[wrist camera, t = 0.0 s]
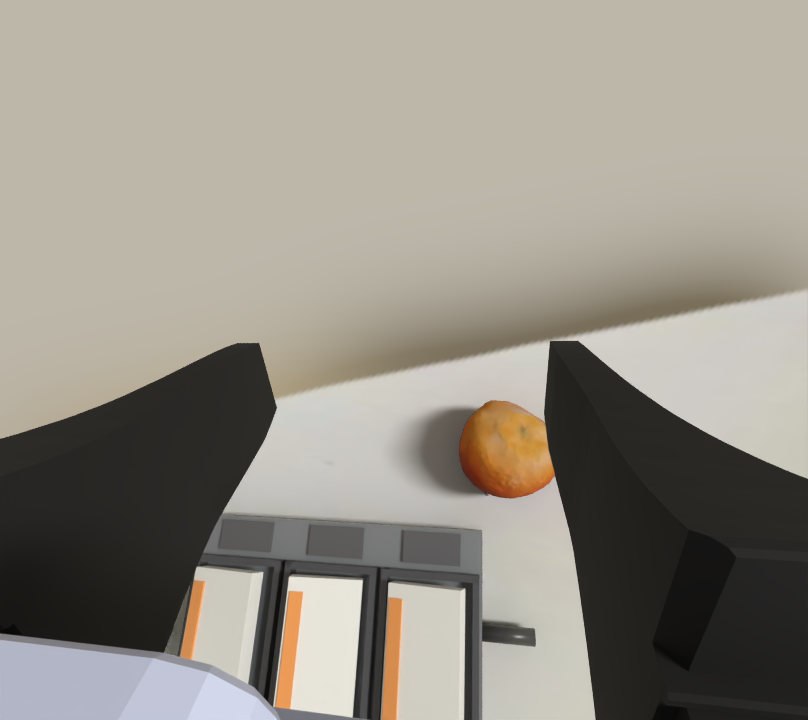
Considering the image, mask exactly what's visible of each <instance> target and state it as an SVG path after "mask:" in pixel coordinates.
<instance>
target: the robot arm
mask: <svg viewBox="0 0 808 720" xmlns="http://www.w3.org/2000/svg"><path fill="white" fill-rule="evenodd" d="M276 409H277V407H276V403H275V399H274V396H273V392H272V388H271V385H270V382H269V378H268V374H267V371H266V367H265V363H264V359H263V356H262V352H261V348H260V345H259V343H237V344H234V345H231V346H228V347H225V348H223V349H221V350H218V351H216V352H214V353H212V354H210V355H208V356H206V357H204V358H202V359H199V360H197V361H196V362H193V363H191V364H189V365H187V366H186V367H183V368H181V369H179V370H178V371H175V372H173V373H171V374H169V375H167V376H165V377H164V378H161V379H159V380H157V381H155V382H153V383H150V384H148V385H146V386H144V387H142V388H140V389H138V390H135V391H133V392H131V393H129V394H127V395H125V396H123V397H120V398H118V399H115V400H113V401H111V402H108V403H106V404H103V405H101V406H98V407H96V408H93V409H90V410H88V411H85V412H83V413H80V414H77V415H75V416H72V417H69V418H66V419H63V420H60V421H57V422H54V423H51V424H48V425H44V426H41V427H38V428H35V429H32V430H29V431H26V432H23V433H19V434H16V435H13V436H9V437H6V438H2V439H0V720H368V719H360V718H353V717H345V716H338V715H330V714H323V713H315V712H308V711H301V710H293V709H286V708H278V707H272V706H271V705H270V704H269V703H268V702H267V701H266V700H265V699H264V697H263V696H262V695H261V694H260V693H259V692H258V691H257V690H256V689H255V688H254V687H253V686H251V685H249V684H247V683H245V682H243V681H241V680H239V679H237V678H236V677H234V676H232V675H230V674H228V673H226V672H224V671H222V670H221V669H219V668H217V667H215V666H213V665H210V664H206V663H202V662H198V661H194V660H190V659H186V658H182V657H178V656H175V655H171V654H167V653H164V651H165V648H166V645H167V642H168V640H169V637H170V634H171V632H172V629H173V626H174V623H175V621H176V618H177V615H178V613H179V610H180V607H181V604H182V602H183V599H184V597H185V595H186V592H187V590H188V587H189V585H190V582H191V580H192V577H193V575H194V573H195V570H196V568H197V565H198V563H199V561H200V558H201V556H202V554H203V552H204V549H205V547H206V545H207V543H208V541H209V538H210V536H211V534H212V532H213V529H214V527H215V525H216V523H217V522H218V520H219V518H220V516H221V514H222V512H223V510H224V509H225V507H226V505H227V503H228V502H229V500H230V498H231V497H232V495H233V493H234V492H235V490H236V488H237V487H238V485H239V483H240V481H241V480H242V478H243V476H244V475H245V473H246V471H247V470H248V468H249V466H250V465H251V463H252V461H253V459H254V458H255V456H256V454H257V452H258V451H259V449H260V447H261V445H262V443H263V442H264V440H265V437H266V435H267V433H268V430H269V428H270V425H271V423H272V420H273V417H274V414H275V412H276ZM544 416H545V425H546V434H547V442H548V449H549V453H550V457H551V461H552V465H553V469H554V473H555V477H556V481H557V485H558V489H559V493H560V496H561V500H562V504H563V508H564V512H565V516H566V519H567V523H568V527H569V531H570V536H571V541H572V545H573V550H574V557H575V564H576V570H577V577H578V584H579V591H580V598H581V605H582V613H583V620H584V627H585V635H586V642H587V650H588V659H589V667H590V675H591V683H592V691H593V699H594V708H595V718H596V720H808V479H806V478H804V477H801V476H799V475H796V474H794V473H791V472H789V471H786V470H784V469H782V468H779V467H777V466H774V465H772V464H770V463H767V462H765V461H763V460H761V459H758V458H756V457H754V456H752V455H750V454H748V453H746V452H744V451H742V450H739V449H737V448H735V447H733V446H731V445H729V444H727V443H725V442H723V441H721V440H719V439H717V438H715V437H713V436H711V435H709V434H707V433H706V432H704V431H702V430H700V429H699V428H697V427H695V426H693V425H692V424H690V423H688V422H686V421H685V420H683V419H681V418H679V417H678V416H676V415H674V414H673V413H671V412H670V411H668V410H667V409H665V408H663V407H662V406H660V405H659V404H658V403H656V402H655V401H653V400H652V399H650V398H649V397H647V396H646V395H645V394H643V393H642V392H640V391H639V390H638V389H636V388H635V387H634V386H632V385H631V384H630V383H628V382H627V381H626V380H624V379H623V378H622V377H621V376H619V375H618V374H617V373H616V372H614V371H613V370H612V369H611V368H610V367H608V366H607V365H606V364H605V363H604V362H602V361H601V360H600V359H599V358H598V357H597V356H595V355H594V354H593V353H592V352H591V351H590V350H588V349H587V348H586V347H585V346H584V345H582V344H581V343H580V342H579V341H550V348H549V360H548V372H547V384H546V397H545V409H544Z"/></svg>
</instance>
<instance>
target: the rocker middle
mask: <svg viewBox="0 0 808 720" xmlns="http://www.w3.org/2000/svg"><path fill="white" fill-rule="evenodd" d="M362 588H363V578H356V577H337V576H318V575H299V574H292V575H291V576H289V581H288V590H287V598H286V606H285V614H284V623H283V631H282V639H281V647H280V656H279V664H278V672H277V681H276V689H275V697H274V705H273V707H278V708H286V709H293V710H301V711H308V712H315V713H323V714H330V715H338V716H345V717H353V709H354V695H355V682H356V668H357V655H358V642H359V628H360V615H361V601H362Z"/></svg>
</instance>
